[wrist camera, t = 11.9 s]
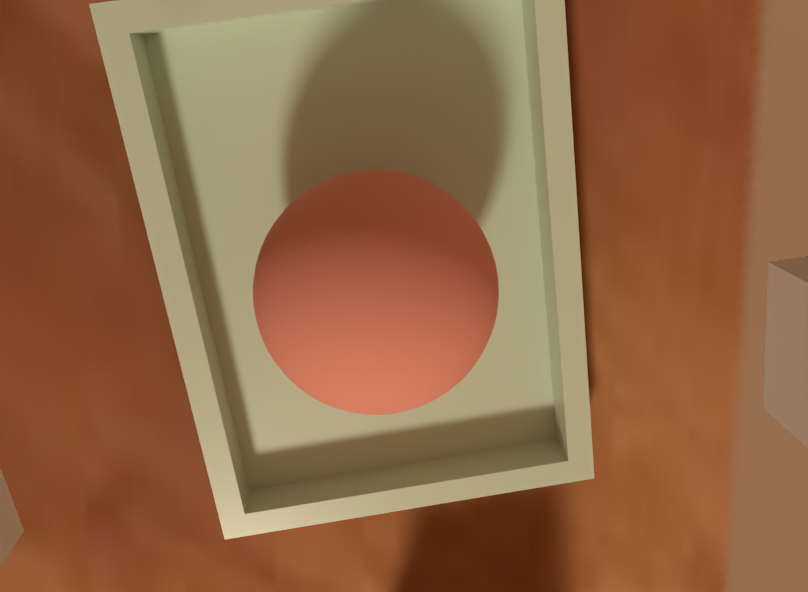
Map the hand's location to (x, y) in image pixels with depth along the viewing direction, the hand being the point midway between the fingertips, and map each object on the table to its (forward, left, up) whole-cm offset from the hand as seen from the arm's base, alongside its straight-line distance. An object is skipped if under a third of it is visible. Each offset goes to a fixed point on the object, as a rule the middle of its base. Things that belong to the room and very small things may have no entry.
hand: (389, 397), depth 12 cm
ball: (+1, 0, -8) cm, 7 cm away
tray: (0, 0, -11) cm, 11 cm away
